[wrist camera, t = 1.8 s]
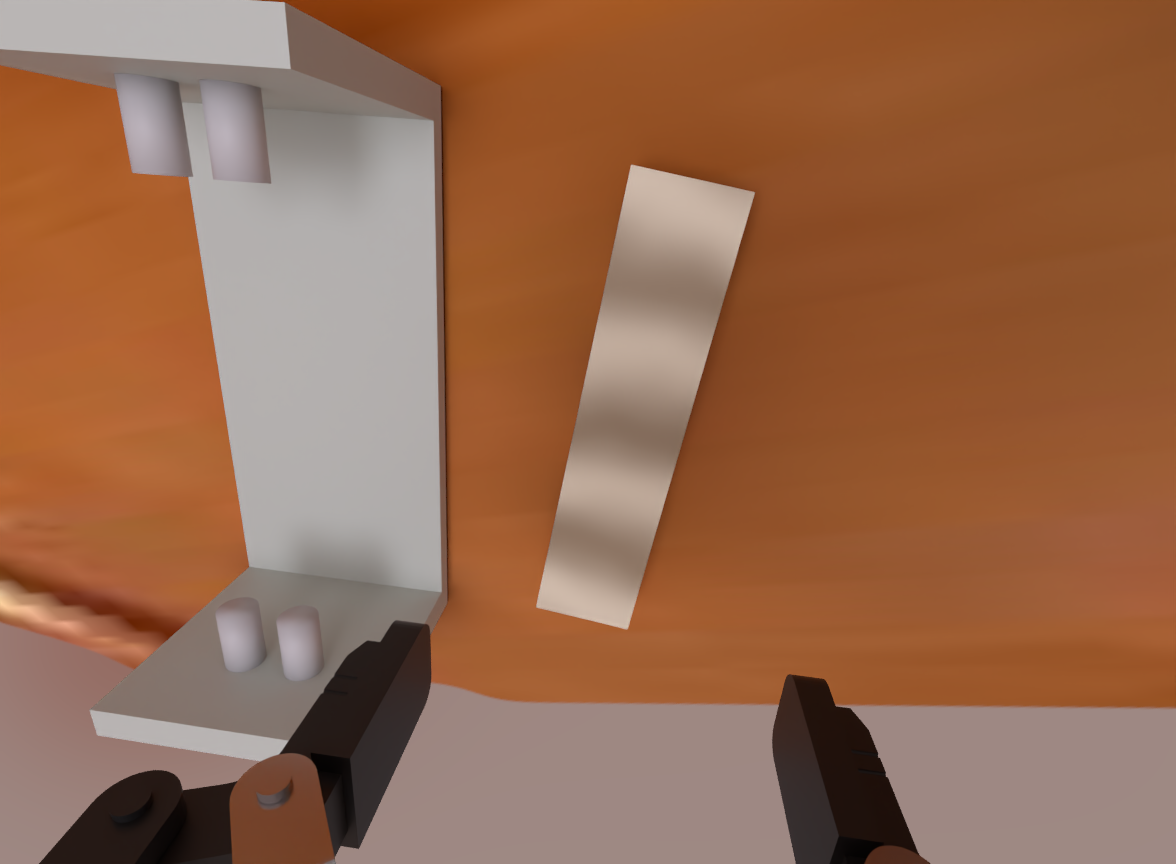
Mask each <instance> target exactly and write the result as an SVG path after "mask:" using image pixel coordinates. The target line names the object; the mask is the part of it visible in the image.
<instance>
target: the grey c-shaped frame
mask: <svg viewBox="0 0 1176 864" xmlns="http://www.w3.org/2000/svg"><path fill="white" fill-rule="evenodd" d="M0 65H2V66H7V67H12V68H17V69H21V70H26V71H31V72H36V73H41V74H46V75H50V76H55V77H60V78H65V79H70V80H74V81H79V82H84V83H89V84H94V85H98V86H103V87H108V88H113V89H117V94H118V99H119V104H120V110H121V115H122V120H123V126H124V131H125V136H126V142H127V147H128V152H129V158H130V163H131V168H132V173H141V174H154V175H167V176H183V177H188V178H189V184H190V190H191V197H192V203H193V210H194V216H195V222H196V229H197V235H198V241H199V248H200V254H201V261H202V267H203V273H204V280H205V286H206V293H207V299H208V305H209V312H210V318H211V325H212V331H213V337H214V344H215V350H216V356H217V363H218V369H219V376H220V382H221V388H222V395H223V401H224V408H225V414H226V420H227V427H228V433H229V439H230V446H231V452H232V459H233V465H234V471H235V478H236V484H237V491H238V497H239V503H240V510H241V516H242V523H243V529H244V535H245V542H246V548H247V554H248V561H249V568H248V569H246V570H245V571H244V572H243V573H242V574H241V575H240V576H239V577H238V578H236V579H235V580H234V581H233V582H232V583H231V584H230V585H229V586H227V587H226V588H225V589H224V590H223V591H222V592H221V593H220V594H218V595H217V596H216V597H215V598H214V599H213V600H212V601H211V602H210V603H208V604H207V605H206V606H205V607H204V608H203V609H202V610H201V611H199V612H198V613H197V614H196V615H195V616H194V617H193V618H192V619H191V620H189V621H188V622H187V623H186V624H185V625H184V626H183V627H182V628H180V629H179V630H178V631H177V632H176V633H175V634H174V635H173V636H172V637H170V638H169V639H168V640H167V641H166V642H165V643H164V644H163V645H161V646H160V647H159V648H158V649H157V650H156V651H155V652H154V653H152V654H151V655H150V656H149V657H148V658H147V659H146V660H145V661H144V662H142V663H141V664H140V665H139V666H138V667H137V668H136V669H135V670H133V671H132V672H131V673H130V674H129V675H128V676H127V677H126V678H125V679H124V680H122V681H121V682H120V683H119V684H118V685H117V686H116V687H115V688H113V689H112V690H111V691H110V692H109V693H108V694H107V695H106V696H104V697H103V698H102V699H101V700H100V701H99V702H98V703H97V704H96V705H95V706H93V707H92V708H91V709H90V713H91V716H92V720H93V723H94V726H95V729H96V733H97V735H99V736H105V737H111V738H118V739H124V740H131V741H137V742H143V743H149V744H156V745H162V746H168V747H175V748H181V749H187V750H193V751H200V752H206V753H212V754H219V755H225V756H232V757H238V758H244V759H250V760H257V761H263V760H265V759H267V758H269V757H272V756H275V755H279V754H280V752H281V751H282V750H283V748H284V747H285V745H286V744H287V742H288V741H289V740H290V738H291V737H292V735H293V734H294V732H295V731H296V729H297V728H298V726H299V725H300V723H301V722H302V721H303V719H304V718H305V716H306V715H307V713H308V712H309V710H310V709H311V707H312V706H313V704H314V703H315V702H316V700H317V699H318V697H319V696H320V694H321V693H323V692H324V688H325V687H326V686H327V684H328V683H329V681H330V680H331V678H334V674H335V672H336V671H337V669H338V668H339V667H340V665H341V664H342V662H343V661H344V659H345V658H346V656H347V655H348V654H350V653H351V652H352V651H354V650H355V649H356V648H358V647H359V646H360V645H362V644H363V643H364V642H366V641H367V640H369V641H376V642H380V641H381V640H382V638H383V637H384V635H385V634H386V632H387V630H388V629H389V627H390V626H391V624H392V623H393V622H394V621H395V620H400V621H408V622H415V623H422V624H428V625H429V627H430V635H431V633H432V631H433V629H434V627H435V626H436V624H437V622H438V620H439V618H440V616H441V614H442V612H443V610H444V608H445V607H446V605H447V529H446V451H445V373H444V295H443V217H442V140H441V86H440V85H438V84H436V83H435V82H433V81H431V80H429V79H427V78H425V77H423V76H421V75H420V74H418V73H416V72H414V71H412V70H410V69H408V68H406V67H405V66H403V65H401V64H399V63H397V62H395V61H393V60H391V59H390V58H388V57H386V56H384V55H382V54H380V53H378V52H376V51H375V50H373V49H371V48H369V47H367V46H365V45H363V44H361V43H360V42H358V41H356V40H354V39H352V38H350V37H348V36H346V35H345V34H343V33H341V32H339V31H337V30H335V29H333V28H332V27H330V26H328V25H326V24H324V23H322V22H320V21H318V20H317V19H315V18H313V17H311V16H309V15H307V14H305V13H303V12H302V11H300V10H298V9H296V8H294V7H292V6H290V5H288V4H287V3H285V2H269V1H253V0H0Z"/></svg>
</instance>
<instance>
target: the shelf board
mask: <svg viewBox="0 0 1176 864" xmlns="http://www.w3.org/2000/svg"><path fill="white" fill-rule="evenodd" d="M754 194H755V192H752V191H747V190H743V189H738V188H734V187H729V186H725V185H720V184H716V183H711V182H707V181H702V180H698V179H694V178H689V177H685V176H680V175H676V174H671V173H667V172H662V171H658V170H653V169H649V168H644V167H640V166H635V165H631V168H630V172H629V177H628V182H627V186H626V191H625V196H624V200H623V205H622V209H621V214H620V219H619V223H618V228H617V233H616V237H615V242H614V247H613V251H612V256H611V261H610V265H609V270H608V275H607V279H606V284H605V289H604V293H603V298H602V303H601V307H600V312H599V317H598V321H597V326H596V330H595V335H594V340H593V344H592V349H591V354H590V358H589V363H588V368H587V372H586V377H585V382H584V386H583V391H582V396H581V400H580V405H579V410H578V414H577V419H576V424H575V428H574V433H573V438H572V442H571V447H570V452H569V456H568V461H567V465H566V470H565V475H564V479H563V484H562V489H561V493H560V498H559V503H558V507H557V512H556V517H555V521H554V526H553V531H552V535H551V540H550V545H549V549H548V554H547V559H546V563H545V568H544V573H543V577H542V582H541V586H540V591H539V596H538V600H537V605H536V607H537V608H541V609H545V610H550V611H554V612H558V613H562V614H566V615H570V616H574V617H578V618H583V619H587V620H591V621H595V622H599V623H603V624H607V625H611V626H615V627H620V628H624V629H628V626H629V623H630V619H631V616H632V612H633V609H634V605H635V602H636V599H637V595H638V592H639V588H640V585H641V581H642V578H643V575H644V571H645V568H646V564H647V561H648V557H649V554H650V551H651V547H652V544H653V540H654V537H655V533H656V530H657V527H658V523H659V520H660V516H661V513H662V509H663V506H664V503H665V499H666V496H667V492H668V489H669V486H670V482H671V479H672V475H673V472H674V468H675V465H676V462H677V458H678V455H679V451H680V448H681V444H682V441H683V438H684V434H685V431H686V427H687V424H688V420H689V417H690V414H691V410H692V407H693V403H694V400H695V396H696V393H697V390H698V386H699V383H700V379H701V376H702V372H703V369H704V366H705V362H706V359H707V355H708V352H709V348H710V345H711V342H712V338H713V335H714V331H715V328H716V324H717V321H718V318H719V314H720V311H721V307H722V304H723V301H724V297H725V294H726V290H727V287H728V283H729V280H730V277H731V273H732V270H733V266H734V263H735V259H736V256H737V253H738V249H739V246H740V242H741V239H742V235H743V232H744V229H745V225H746V222H747V218H748V215H749V211H750V208H751V205H752V201H753V198H754Z"/></svg>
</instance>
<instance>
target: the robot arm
mask: <svg viewBox="0 0 1176 864" xmlns="http://www.w3.org/2000/svg"><path fill="white" fill-rule="evenodd" d="M430 685H431V646H430V627H429V625H428V624H422V623H415V622H408V621H400V620H395V621H394V622H393V623H392V624H391V626H390V627H389V629H388V630H387V632H386V634H385V635H384V637H383V638H382V640H381V641H380V642H376V641H369V640H367V641H366V642H364V643H363V644H362V645H360V646H359V647H358V648H356V649H355V650H354V651H352V652H351V653H350V654H348V655H347V656H346V658H345V659H344V661H343V662H342V664H341V665H340V667H339V668H338V669H337V671H336V672H335V674H334V678H331V680H330V681H329V683H328V684H327V686H326V687H325V688H324V692H323V693H321V694H320V696H319V697H318V699H317V700H316V702H315V703H314V704H313V706H312V707H311V709H310V710H309V712H308V713H307V715H306V716H305V718H304V719H303V721H302V722H301V723H300V725H299V726H298V728H297V729H296V731H295V732H294V734H293V735H292V737H291V738H290V740H289V741H288V742H287V744H286V745H285V747H284V748H283V750H282V751H281V752H280V754H279V755H275V756H272V757H269V758H267V759H265V760H263V761H261V762H259V763H257V764H256V765H254V766H253V767H251V768H250V769H249V770H248V771H247V772H245V773H244V774H243V776H242V777H241V778H240V779H239V780H238V781H236V782H233V783H228V784H223V785H216V786H209V787H203V788H196V789H189V790H182V786H181V783H180V780H179V779H178V777H176V776H175V775H174V774H172V773H170V772H167V771H162V770H153V771H147V772H142V773H138V774H135V775H132V776H130V777H128V778H126V779H123V780H121V781H119V782H118V783H116V784H114V785H113V786H111V787H110V788H108V789H107V790H106V791H105V792H103V793H102V794H101V795H100V796H99V797H97V798H96V799H95V801H94V802H93V803H92V804H91V805H90V806H89V807H88V808H87V809H86V811H85V812H84V813H83V814H82V815H81V817H79V819H78V820H77V821H76V822H75V823H74V824H73V826H72V827H71V828H70V829H69V830H68V831H67V832H66V833H65V835H64V836H63V837H62V838H61V839H60V840H59V841H58V843H57V844H56V845H55V846H54V847H53V848H52V850H51V851H50V852H49V853H48V854H47V855H46V856H45V858H44V859H43V860H42V861H41V862H40V863H39V864H336V862H335V856H336V854H337V852H338V850H339V848H340V846H345V847H352V848H358V849H359V847H360V845H361V843H362V840H363V839H364V836H365V834H366V832H367V830H368V828H369V826H370V823H371V821H372V819H373V817H374V815H375V813H376V810H377V808H378V806H379V804H380V802H381V799H382V797H383V795H384V793H385V791H386V789H387V787H388V784H389V782H390V780H391V778H392V776H393V774H394V771H395V769H396V767H397V765H398V763H399V760H400V758H401V756H402V754H403V752H404V750H405V747H406V745H407V743H408V741H409V739H410V737H411V735H412V733H413V730H414V728H415V726H416V724H417V722H418V719H419V717H420V715H421V713H422V711H423V709H424V706H425V704H426V701H427V698H428V694H429V690H430ZM772 744H773V757H774V762H775V767H776V771H777V776H778V781H779V786H780V790H781V795H782V800H783V804H784V809H785V814H786V819H787V824H788V828H789V833H790V838H791V843H792V847H793V852H794V857H795V861H796V864H930V863H929V862H927V861H926V860H925V859H924V858H922V857H921V856H920V855H919V853H918V852H917V849H916V846H915V844H914V842H913V839H912V836H911V834H910V832H909V829H908V827H907V824H906V822H905V819H904V817H903V814H902V812H901V809H900V807H899V804H898V802H897V799H896V797H895V794H894V792H893V789H892V787H891V784H890V782H889V779H888V778H887V777H886V775H885V774H886V772H885V770H884V767H883V764H882V762H881V760H880V758H878V752H877V750H876V747H875V745H874V742H873V740H872V737H871V735H870V732H869V730H868V729H867V727H866V726H865V725H864V724H863V723H862V722H861V720H860V719H859V718H858V717H857V716H856V714H855V713H854V712H853V711H852V710H851V709H850V708H843V707H836V706H835V703H834V701H833V698H832V695H831V692H830V689H829V686H828V684H827V682H826V681H825V680H824V679H820V678H812V677H805V676H798V675H788V676H787V677H786V680H785V683H784V687H783V691H782V695H781V699H780V703H779V707H778V711H777V715H776V719H775V723H774V728H773V739H772Z"/></svg>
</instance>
